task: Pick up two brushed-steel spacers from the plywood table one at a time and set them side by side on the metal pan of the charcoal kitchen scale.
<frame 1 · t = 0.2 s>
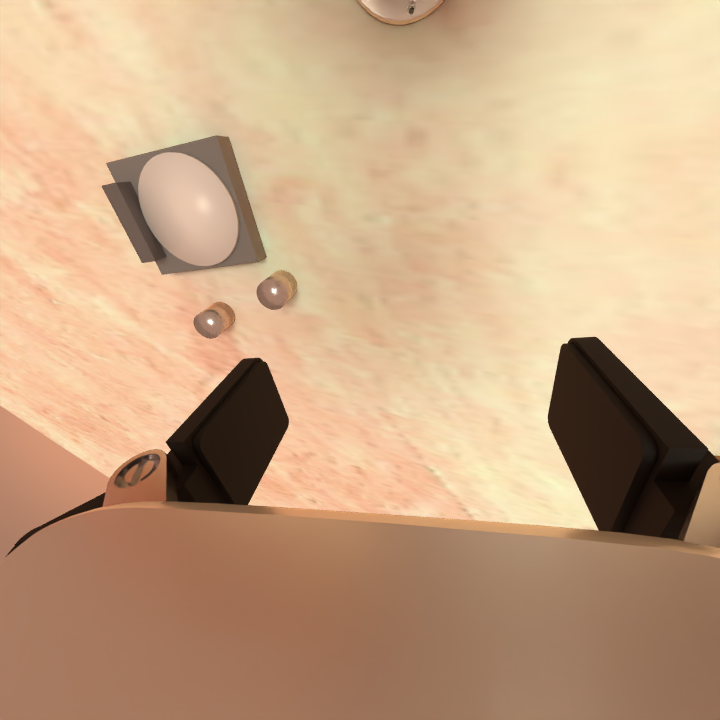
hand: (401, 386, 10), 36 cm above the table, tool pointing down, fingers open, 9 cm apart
spacer 2: (223, 313, 54), on the table
scale: (197, 211, 45), on the table
spacer 1: (284, 284, 49), on the table
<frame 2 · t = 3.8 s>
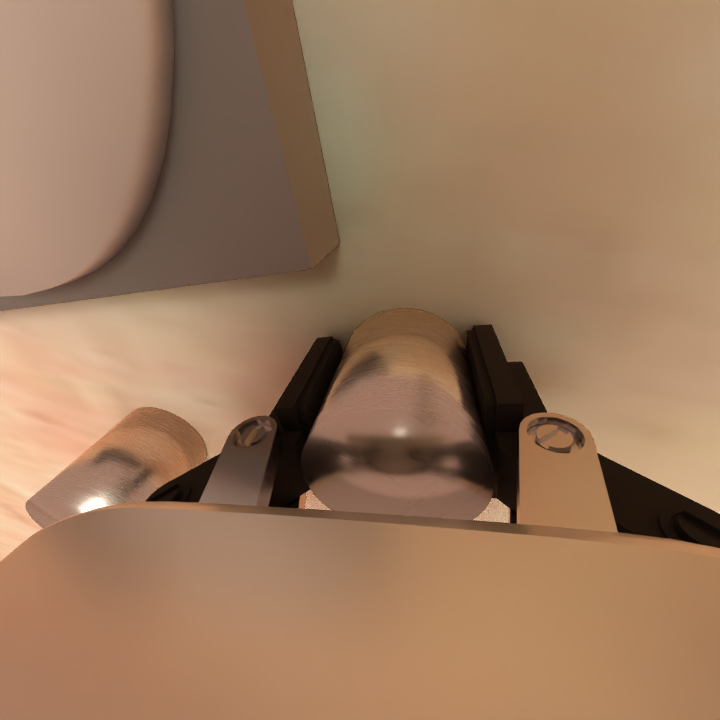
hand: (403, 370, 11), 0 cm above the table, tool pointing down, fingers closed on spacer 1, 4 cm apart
spacer 2: (168, 438, 16), on the table
spacer 1: (404, 364, 11), on the table, touching gripper
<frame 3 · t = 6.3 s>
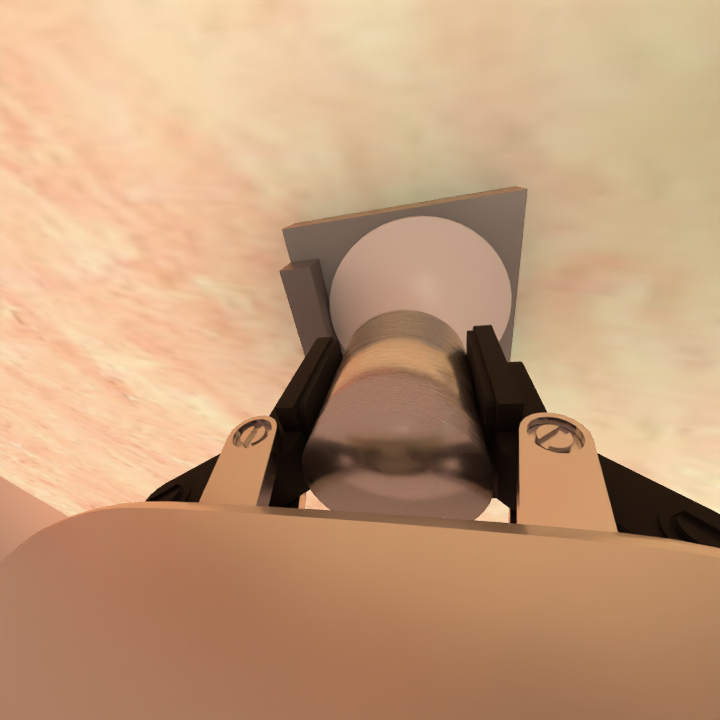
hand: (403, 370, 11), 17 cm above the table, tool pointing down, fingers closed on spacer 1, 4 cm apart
scale: (404, 298, 27), on the table
spacer 1: (404, 365, 11), point 17 cm above the table, touching gripper
when the fingers open (5 cm above the table, at t = 8.9 s): spacer 1 drops 1 cm, resting on scale.
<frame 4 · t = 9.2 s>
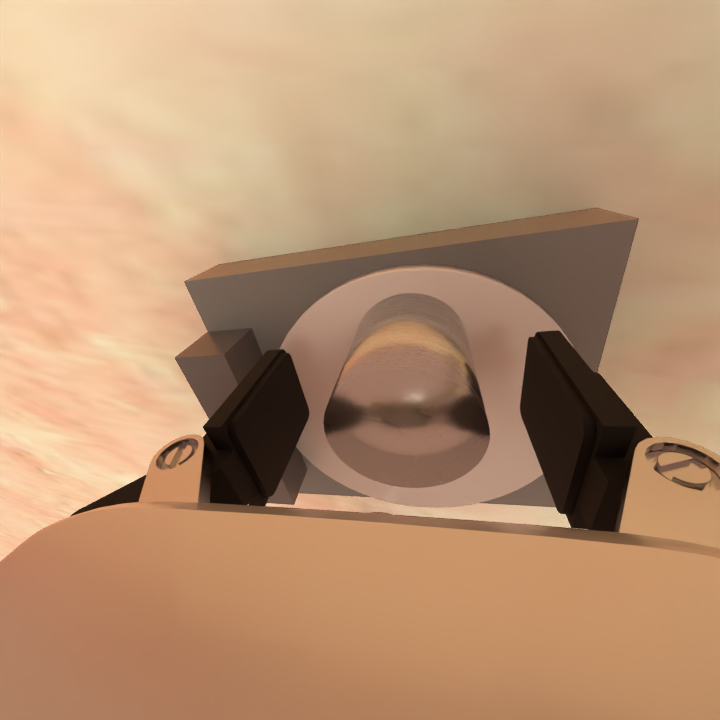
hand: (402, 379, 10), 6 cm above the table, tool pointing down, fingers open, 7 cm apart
scale: (398, 375, 18), on the table
spacer 1: (409, 345, 12), point 4 cm above the table, touching scale
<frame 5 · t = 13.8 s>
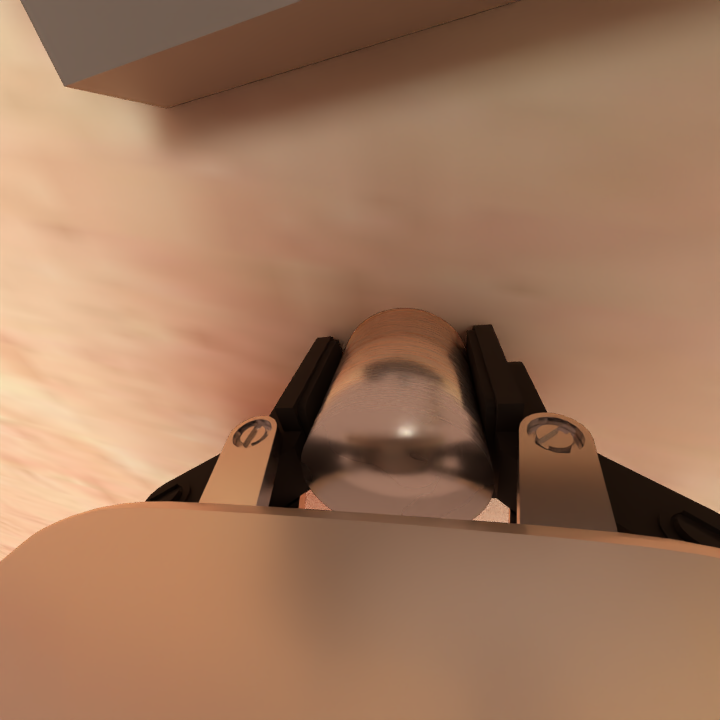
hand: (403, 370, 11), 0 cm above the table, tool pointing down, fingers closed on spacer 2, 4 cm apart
spacer 2: (404, 364, 11), on the table, touching gripper
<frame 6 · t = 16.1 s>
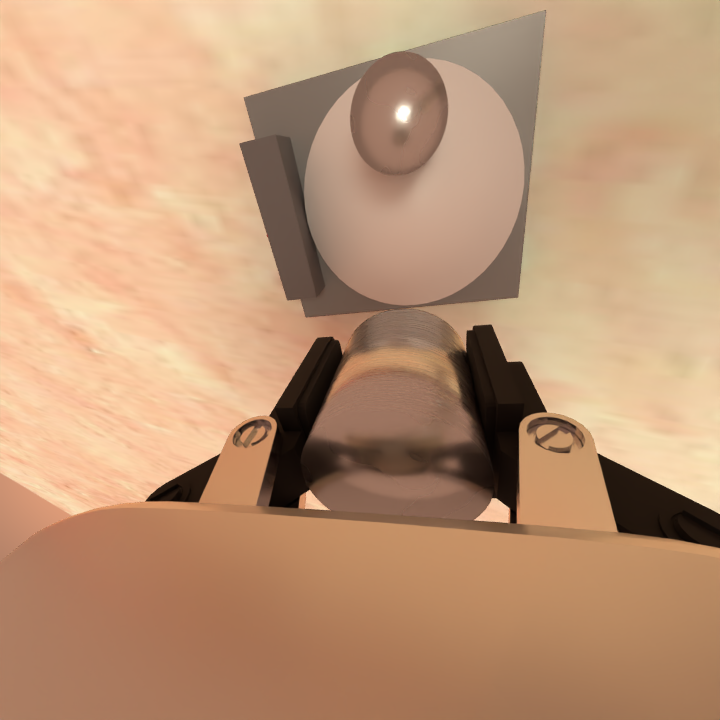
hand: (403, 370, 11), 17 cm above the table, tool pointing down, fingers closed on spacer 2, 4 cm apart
spacer 2: (404, 364, 11), point 17 cm above the table, touching gripper
scale: (395, 202, 23), on the table
spacer 1: (403, 129, 18), point 4 cm above the table, touching scale
when the fingers open (5 cm above the table, at t = 18.6 s): spacer 2 drops 1 cm, resting on scale.
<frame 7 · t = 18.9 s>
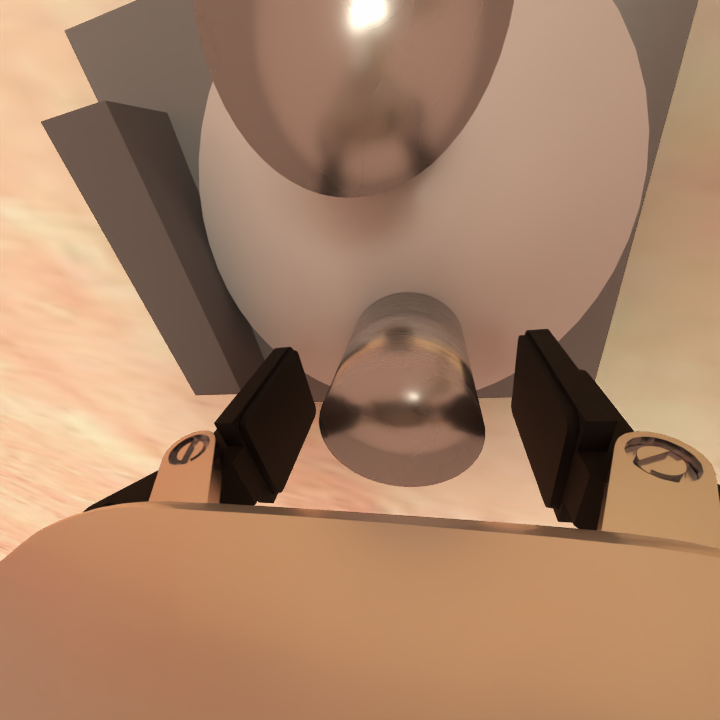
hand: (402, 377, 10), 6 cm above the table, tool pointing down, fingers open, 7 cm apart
spacer 2: (406, 344, 12), point 4 cm above the table, touching scale
scale: (378, 228, 14), on the table
spacer 1: (383, 89, 8), point 4 cm above the table, touching scale
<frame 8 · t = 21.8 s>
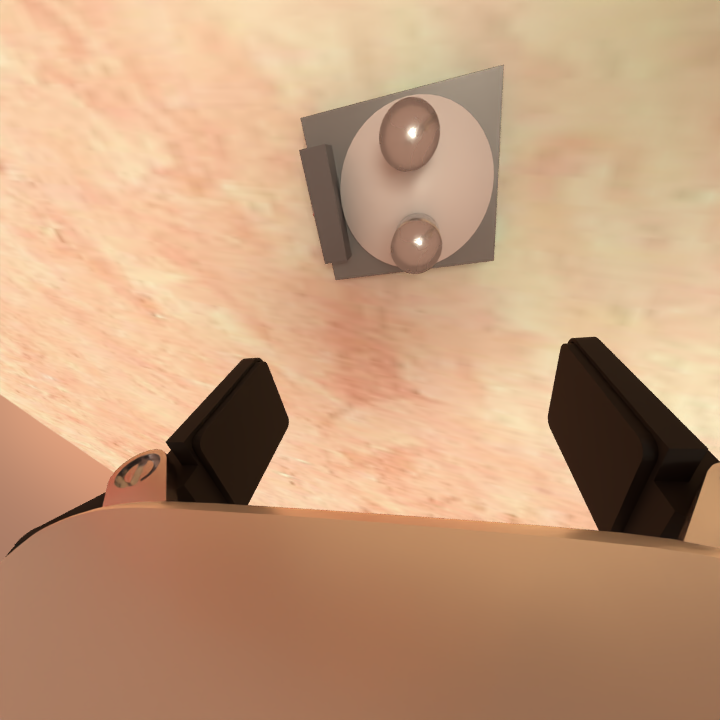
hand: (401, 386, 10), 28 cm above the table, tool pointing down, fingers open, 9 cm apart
spacer 2: (417, 236, 30), point 4 cm above the table, touching scale
scale: (404, 191, 32), on the table
spacer 1: (411, 140, 26), point 4 cm above the table, touching scale
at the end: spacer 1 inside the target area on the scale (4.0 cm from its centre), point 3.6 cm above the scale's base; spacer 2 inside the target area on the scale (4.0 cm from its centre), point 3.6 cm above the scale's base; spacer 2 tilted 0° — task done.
